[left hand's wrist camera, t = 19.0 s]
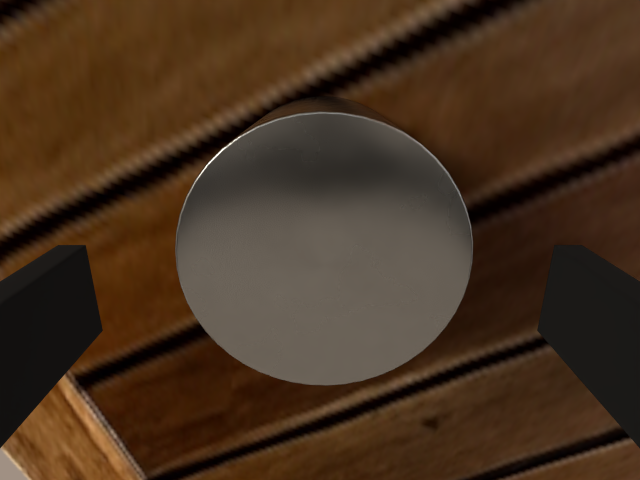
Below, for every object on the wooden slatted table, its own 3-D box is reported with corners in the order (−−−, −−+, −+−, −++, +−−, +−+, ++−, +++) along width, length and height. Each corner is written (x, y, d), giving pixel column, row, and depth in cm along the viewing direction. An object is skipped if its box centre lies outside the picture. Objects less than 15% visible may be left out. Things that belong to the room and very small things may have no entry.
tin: (423, 93, 19) (490, 106, 12) (412, 278, 22) (459, 383, 15) (218, 98, 19) (151, 115, 12) (238, 282, 22) (195, 388, 15)
